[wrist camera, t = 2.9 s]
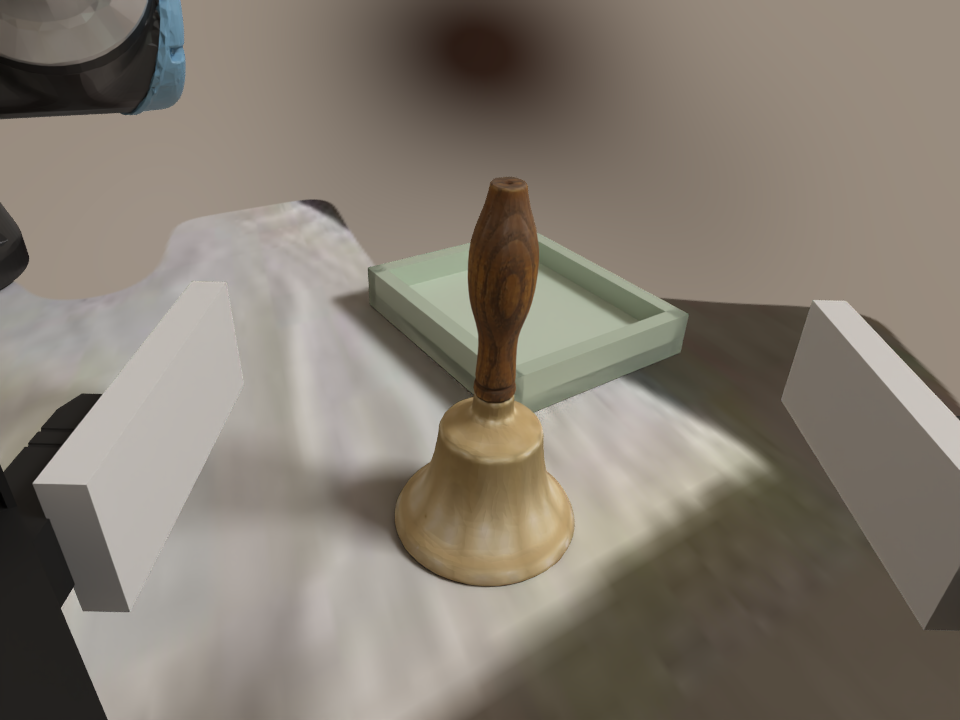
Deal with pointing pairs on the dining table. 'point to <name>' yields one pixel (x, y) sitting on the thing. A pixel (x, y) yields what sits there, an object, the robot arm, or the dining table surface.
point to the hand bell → (491, 429)
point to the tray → (532, 321)
